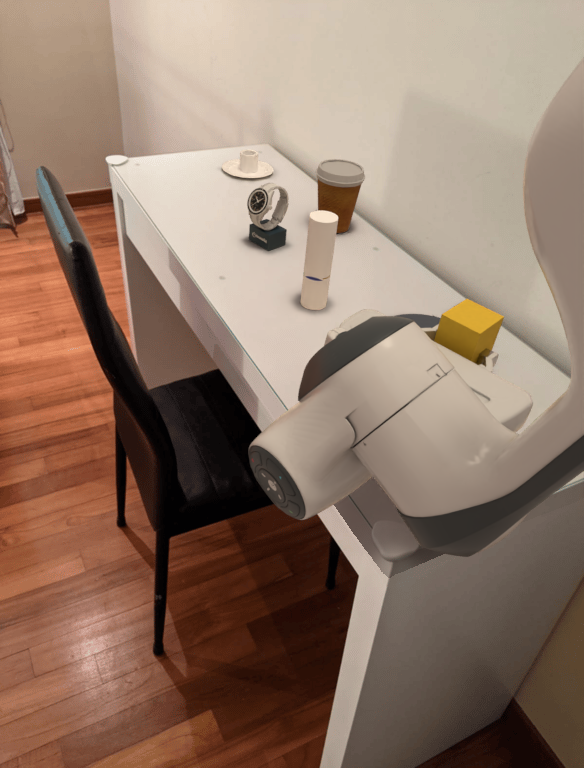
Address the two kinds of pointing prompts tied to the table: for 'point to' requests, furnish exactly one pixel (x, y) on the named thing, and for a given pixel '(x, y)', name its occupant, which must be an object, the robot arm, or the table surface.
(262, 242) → the watch
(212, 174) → the table surface
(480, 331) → the sponge
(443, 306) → the table surface
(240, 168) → the candle holder
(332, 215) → the tube
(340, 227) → the disposable coffee cup
